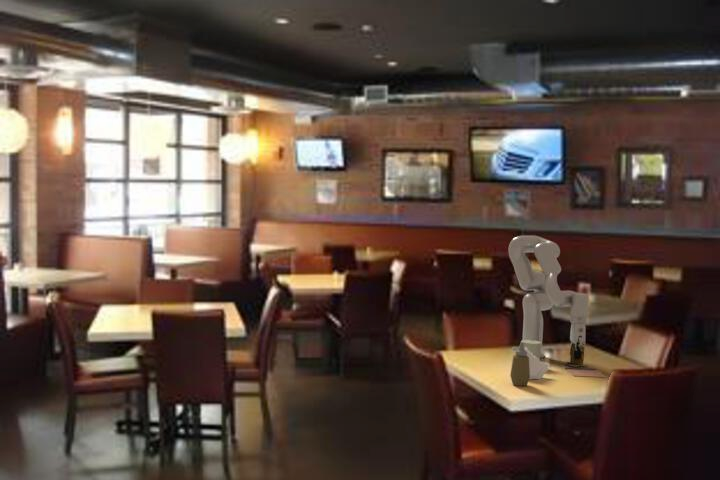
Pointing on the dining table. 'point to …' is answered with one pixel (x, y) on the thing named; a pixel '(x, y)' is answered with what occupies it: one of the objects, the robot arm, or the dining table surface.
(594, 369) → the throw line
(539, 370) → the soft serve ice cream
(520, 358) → the squeeze bottle
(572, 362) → the condiment
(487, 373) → the dining table surface
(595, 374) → the mat
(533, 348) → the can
